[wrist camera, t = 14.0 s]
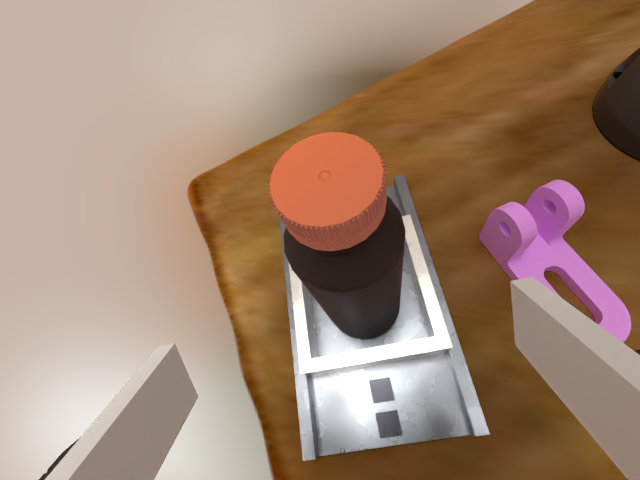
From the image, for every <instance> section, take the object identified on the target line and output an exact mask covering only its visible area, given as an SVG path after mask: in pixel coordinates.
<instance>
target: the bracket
mask: <svg viewBox="0 0 640 480" xmlns="http://www.w3.org/2000/svg"><path fill="white" fill-rule="evenodd" d="M584 210H585V204H584V200H583V198H582V196H581V194H580V192H579V191H578V190H577V189H576V188H575V187H574V186H573V185H571V184H570V183H568V182H566V181H563V180H554V181H551V182H549V183H547V184H545V185H543V186H541V187H539V188H537V189H536V190H535V191H534V192H533V194H532V195H531V197H530V198H529V200H528V201H527V203H526V204H525V206H524V207H523V206H522V205H521V204H519V203H516V202H508V203H506V204H504V205H502V206H500V207H498V208H496V209H494V210H492V211H491V213H490V215H489V217H488V219H487V221H486V223H485V225H484V227H483V229H482V231H481V233H480V235H479V237H478V238H479V239H480V241H481V242H482V243H483V244H484V246H485V247H486V248H487V250H488V251H489V252H490V253H491V255H492V256H493V257H494V258H495V260H496V261H497V262H498V263H499V265H500V266H501V267H502V269H503V270H504V271H505V272H506V274H507V275H508V276H509V277H510V279H511V280H512V281H513V280H518V279H524V278H529V277H534V278H535V279H536V280H538V281H539V282H541V283H542V284H543V285H545V286H546V287H547V288H549V289H550V290H551V291H553V292H554V293H556V294H557V295H558V293H557V292H556V291H555V290H554V289H553V288H552V286H551V285H550V284H549V283H548V282H547V281H546V279H545V277H544V271H552V272H555V273H556V274H558V275H559V276H560V278H561V279H562V280H563V281H564V282H565V283H566V284H567V286H568V287H569V288H570V289H571V290H572V291H573V292H574V293H575V295H576V296H577V297H578V298H579V299H580V300H581V301H582V303H583V304H584V305H585V306H586V307H587V308H588V309H589V311H590V312H591V313H592V314H593V316H594V319H595V321H594V322H595V323H597V324H598V325H599V326H601V327H602V328H603V329H605V330H606V331H607V332H609V333H610V334H612V335H613V336H614V337H616V338H617V339H618V340H620V341H621V342H622V343H623V342H624V341H625V340H626V339H627V337H628V335H629V333H630V330H631V319H630V315H629V312H628V310H627V308H626V307H625V305H624V304H623V302H622V301H621V300H620V299H619V298H618V297H617V296H616V295H615V294H614V292H613V291H612V290H611V289H610V288H609V287H608V286H607V285H606V284H605V283H604V282H603V281H602V280H601V279H600V278H599V277H598V276H597V275H596V273H595V272H594V271H593V270H592V269H591V268H590V267H589V266H588V265H587V264H586V263H585V262H584V261H583V260H582V259H581V258H580V257H579V255H578V254H577V253H576V252H575V251H574V250H573V249H572V248H571V247H570V246H569V245H568V244H567V243H566V242H565V241H564V239H563V234H564V233H565V232H566V231H567V230H568V229H569V228H570V227H571V226H572V225H573V224H574V223H575V222H576V221H577V220H578V219H579V218H580V217H581V216H582V215H583V213H584ZM558 296H559V295H558Z"/></svg>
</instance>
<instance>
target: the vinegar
mask: <svg viewBox="0 0 640 480" xmlns="http://www.w3.org/2000/svg"><path fill="white" fill-rule="evenodd" d="M271 174H272V176H270V178H271V180H270V181H269V182H270V184H269V187H270V188H269V191H270V193H269V194H270V199H271V202H272V204H273V206H274V208H275V210H276V211H277V213H278V215H279V216H280V218H281V220H282V221H283V223H284V224H285V226H286V227H285V231H284V235H283V237H284V252H285V255H286V257H287V259H288V261H289V264H290V266H291V268H292V270H293V271H294V273H295V274H296V275H297V277H298V278H299V279H300V280H301V282H302V283H303V284H304V286H305V287H306V288H307V289H308V291H309V292H310V293H311V295H312V296H313V297H314V298H315V300H316V301H317V302H318V304H319V305H320V306H321V307H322V309H323V310H324V311H325V313H326V314H327V315H328V317H329V318H330V319H331V320H332V322H333V323H334V324H335V325H336V326H337V327H338V328H339V329H340V330H341V331H342V332H343V333H345V334H347V335H349V336H351V337H354V338H359V339H369V338H375V337H377V336H379V335H381V334H383V333H385V332H387V331H388V330H389V328H390V327H391V326H392V325H393V324H394V323H395V321H396V319H397V316H398V314H399V309H400V298H401V285H402V272H403V259H404V246H405V233H406V231H405V227H404V223H403V219H402V215H401V212H400V211H399V209H398V208H397V207H396V205H395V204H394V202H393V201H392V199H391V198H390V197H388V196H387V194H386V172H385V165H384V164H383V160H382V157H381V156H380V155H379V153H377V149H374V146H372V145H371V143H370V144H369V143H368V141H364V138H363V139H361V138H360V137H357V136H356V135H352V134H347V133H343V132H341V133H338V132H337V133H334V132H327V133H322V134H318V135H314V136H309V137H308V138H305V139H304V140H301V141H300V142H298V143H296V144H295V145H293V146H292V147H291V148H289V150H288V151H286V152H285V153H284V154H282V157H281V158H280V160H279V161H277V164H276V165H275V167H274V169H273V172H272V173H271Z"/></svg>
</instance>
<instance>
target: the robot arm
mask: <svg viewBox="0 0 640 480" xmlns="http://www.w3.org/2000/svg"><path fill="white" fill-rule="evenodd" d="M593 113H594V118H595V121H596V123H597V125H598V127H599V129H600V130H601V131H602V133H603V134H604V135H605V136H606V137H607V138H608V139H609V140H610V141H611V142H612V143H613V144H614V145H616V146H617V147H618V148H620V149H621V150H623V151H624V152H626V153H627V154H629V155H631V156H633V157H635V158H637V159H639V160H640V48H639V49H638V50H636V51H635V52H634V53H633V54H632V55H630V56H629V57H628V58H627V59H626V60H625V61H623V62H622V63H621V64H620V65H619V66H617V67H616V68H615V69H614V70H613V72H612V73H611V74H610V75H609V76H608V78H607V79H606V81H605V82H604V84H603V85H602V87H601V88H600V90H599V91H598V93H597V95H596V97H595V100H594V104H593ZM510 283H511V297H512V310H513V324H514V337H515V346H516V347H517V348H518V349H519V350H520V352H521V353H522V354H523V355H524V356H525V358H526V359H527V360H528V361H529V362H530V364H531V365H532V366H533V367H534V368H535V369H536V371H537V372H538V373H539V374H540V375H541V377H542V378H543V379H544V380H545V381H546V383H547V384H548V385H549V386H550V387H551V389H552V390H553V391H554V392H555V393H556V395H557V396H558V397H559V398H560V399H561V400H562V402H563V403H564V404H565V405H566V406H567V408H568V409H569V410H570V411H571V412H572V414H573V415H574V416H575V417H576V418H577V420H578V421H579V422H580V423H581V424H582V426H583V427H584V428H585V429H586V430H587V431H588V433H589V434H590V435H591V436H592V437H593V439H594V440H595V441H596V442H597V443H598V445H599V446H600V447H601V448H602V449H603V451H604V452H605V453H606V454H607V455H608V457H609V458H610V459H611V460H612V461H613V462H614V464H615V465H616V466H617V467H618V468H619V470H620V471H621V472H622V473H623V474H624V476H625V477H626V478H627V479H628V480H640V350H635V351H633V350H632V349H631V348H629V347H628V346H627V345H625V344H624V343H622V342H621V341H620V340H618V339H617V338H616V337H614V336H613V335H612V334H610V333H609V332H607V331H606V330H605V329H603V328H602V327H601V326H599V325H598V324H597V323H595V322H594V321H592V320H591V319H590V318H588V317H587V316H586V315H584V314H583V313H582V312H580V311H579V310H577V309H576V308H575V307H573V306H572V305H571V304H569V303H568V302H566V301H565V300H564V299H562V298H561V297H560V296H558V295H557V294H556V293H554V292H553V291H551V290H550V289H549V288H547V287H546V286H545V285H543V284H542V283H541V282H539V281H538V280H536V279H535V278H534V277H529V278H524V279H518V280H513V281H510ZM197 398H198V395H197V393H196V391H195V388H194V386H193V384H192V381H191V379H190V377H189V375H188V373H187V370H186V368H185V366H184V364H183V361H182V359H181V356H180V354H179V352H178V350H177V347H176V345H175V344H169V345H164V346H158V347H157V348H156V349H155V350H154V352H153V353H152V354H151V355H150V356H149V357H148V359H147V360H146V361H145V362H144V363H143V364H142V366H141V367H140V368H139V369H138V370H137V372H136V373H135V374H134V375H133V376H132V377H131V379H130V380H129V381H128V382H127V383H126V384H125V386H124V387H123V388H122V389H121V390H120V392H119V393H118V394H117V395H116V396H115V398H114V399H113V400H112V401H111V402H110V403H109V405H108V406H107V407H106V408H105V409H104V410H103V412H102V413H101V414H100V415H99V417H97V419H96V420H95V421H94V422H93V423H92V425H91V426H90V427H89V428H88V429H87V430H86V432H85V433H84V434H83V435H82V436H81V437H80V438H79V439H78V440H77V441H76V442H74V443H73V444H72V445H71V446H70V447H69V448H67V449H66V450H65V451H64V452H63V453H62V454H61V455H60V456H59V457H58V458H57V460H56V461H55V462H54V463H53V464H52V465H51V466H50V468H49V469H48V471H47V473H45V474H44V475H43V476H42V477H41V478H40V479H39V480H154V479H155V477H156V475H157V473H158V471H159V469H160V467H161V465H162V464H163V462H164V460H165V458H166V456H167V454H168V452H169V450H170V448H171V447H172V445H173V443H174V441H175V439H176V437H177V435H178V433H179V432H180V430H181V428H182V426H183V424H184V422H185V420H186V419H187V417H188V415H189V413H190V411H191V409H192V407H193V405H194V404H195V402H196V400H197Z"/></svg>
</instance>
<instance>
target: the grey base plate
mask: <svg viewBox="0 0 640 480" xmlns="http://www.w3.org/2000/svg"><path fill="white" fill-rule="evenodd" d="M386 194H387V196H388V197H390V198H391V199H392V201H393V202H394V204H395V205H396V207H397V208H398V209H399V211H400V212H401V215H402V219H403V223H404V227H405V231H406V233H405V246H404V259H403V272H402V285H401V298H400V309H399V314H398V316H397V319H396V321H395V323H394V324H393V325H392V326H391V327H390V328H389V330H388V331H387V332H385V333H383V334H381V335H379V336H377V337H375V338H369V339H359V338H354V337H351V336H349V335H347V334H345V333H343V332H342V331H341V330H340V329H339V328H338V327H337V326H336V325H335V324H334V323H333V322H332V320H331V319H330V318H329V317H328V315H327V314H326V313H325V311H324V310H323V309H322V307H321V306H320V305H319V304H318V302H317V301H316V300H315V298H314V297H313V296H312V295H311V293H310V292H309V291H308V289H307V288H306V287H305V286H304V284H303V283H302V282H301V280H300V279H299V278H298V277H297V275H296V274H295V273H294V271H293V270H292V268H291V266H290V264H289V261H288V259H287V257H286V255H285V252H284V237H283V235H284V231H285V227H286V226H285V224H284V223H283V221H282V220H281V218H280V228H281V238H282V249H283V259H284V269H285V280H286V290H287V301H288V311H289V321H290V332H291V342H292V353H293V363H294V373H295V384H296V394H297V405H298V415H299V425H300V436H301V446H302V457H303V461H306V460H313V459H316V458H318V457H319V456H324V455H331V454H338V453H345V452H352V451H359V450H366V449H373V448H380V447H387V446H394V445H401V444H408V443H415V442H422V441H429V440H436V439H443V438H450V437H457V436H464V435H474V436H482V435H489V434H490V433H489V430H488V427H487V424H486V421H485V418H484V415H483V412H482V409H481V406H480V403H479V400H478V397H477V394H476V391H475V388H474V385H473V382H472V379H471V376H470V373H469V370H468V367H467V364H466V361H465V358H464V355H463V352H462V349H461V346H460V343H459V340H458V337H457V334H456V331H455V328H454V325H453V322H452V319H451V316H450V313H449V310H448V307H447V304H446V301H445V298H444V295H443V292H442V289H441V286H440V283H439V280H438V277H437V274H436V271H435V268H434V265H433V262H432V259H431V256H430V253H429V250H428V247H427V244H426V241H425V238H424V235H423V232H422V229H421V226H420V222H419V219H418V216H417V213H416V210H415V207H414V204H413V201H412V198H411V195H410V192H409V189H408V186H407V183H406V180H405V177H404V175H400V176H396V177H394V185H392V186H388V187H386ZM279 217H280V216H279Z"/></svg>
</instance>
